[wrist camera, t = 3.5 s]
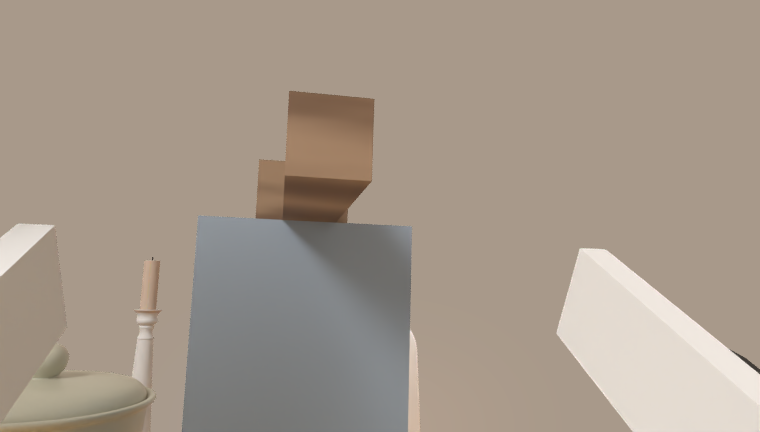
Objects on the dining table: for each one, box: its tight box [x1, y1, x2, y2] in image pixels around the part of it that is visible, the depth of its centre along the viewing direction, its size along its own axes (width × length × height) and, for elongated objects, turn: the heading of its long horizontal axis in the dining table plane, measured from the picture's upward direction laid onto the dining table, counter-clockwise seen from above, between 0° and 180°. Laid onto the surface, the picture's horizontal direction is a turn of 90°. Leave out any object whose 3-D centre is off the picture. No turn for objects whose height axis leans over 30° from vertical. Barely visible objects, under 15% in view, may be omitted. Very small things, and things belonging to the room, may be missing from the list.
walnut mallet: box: [256, 91, 374, 223], centre depth 33 cm, size 30×7×6 cm, turn 11°
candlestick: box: [132, 257, 162, 432], centre depth 71 cm, size 13×13×30 cm
